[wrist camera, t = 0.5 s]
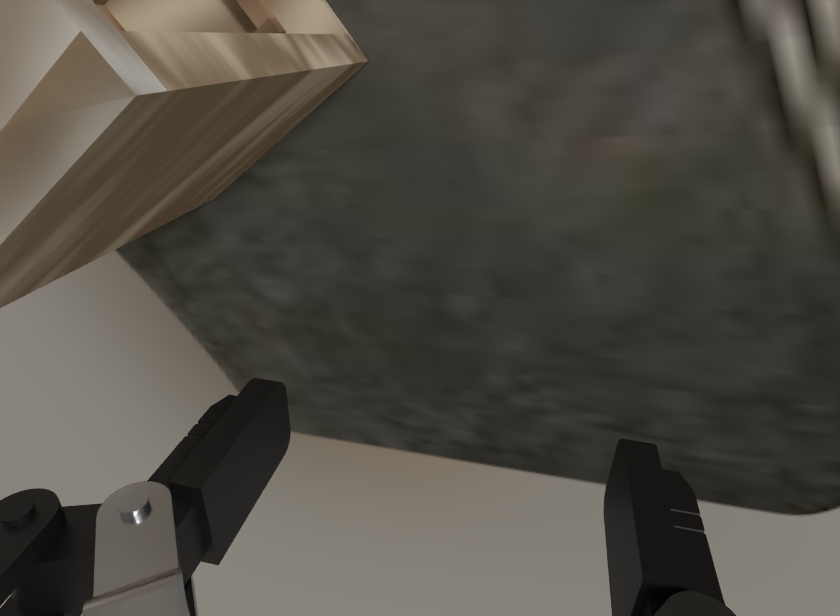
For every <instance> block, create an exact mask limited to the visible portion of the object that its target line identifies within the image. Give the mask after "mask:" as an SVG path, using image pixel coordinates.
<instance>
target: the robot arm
mask: <svg viewBox="0 0 840 616" xmlns="http://www.w3.org/2000/svg"><path fill="white" fill-rule="evenodd" d="M289 440H290V421H289V411H288V402H287V393H286V387H285V385H284V383H282V382H276V381H270V380H264V379H258V378H253V379H251V380H250V381H249V382H248V383H247V385H246V386H245V387H244V388H243V390H242V391H241V392H240V393H239V395H238V396H233V395H228V396H227V397H225V398H223V399H222V400H220V401H219V402H217V403H215V404H214V405H212V406H211V407H210V408H209V409H208V410H207V411H206V413H205V414H204V415H203V416H202V417H201V418H200V420H199V421H198V424H195V425H194V427H193V428H192V429H191V430H190V431H189V433H188V436H186V437H184V438H183V440H182V441H181V442H180V443H179V444H178V445H177V447H176V448H175V449H174V450H173V451H172V453H171V454H170V455H169V456H168V457H167V459H166V460H165V461H164V462H163V463H162V464H161V465H160V467H159V468H158V469H157V470H156V471H155V473H154V474H153V475H152V476H151V477H150V479H149V480H148V481H144V482H138V483H133V484H130V485H127V486H125V487H123V488H121V489H119V490H117V491H116V492H114V493H113V494H111V495H110V496H109V497H108V498H107V499H106V500H105V501H104V502H103V503H102V504H91V505H79V506H66V507H62V506H61V504H60V501H59V499H58V497H57V495H56V494H55V493H54V492H52V491H50V490H46V489H28V490H24V491H20V492H17V493H15V494H12V495H10V496H8V497H6V498H4V499H2V500H0V606H1V605H2V603H3V602H4V601H5V600H6V599H7V598H8V596H9V595H11V596H10V598H9V599H8V600H7V601H6V602H5V604H4V605H3V606H2V607H1V608H0V616H81V614H82V613H83V614H82V616H198V612H197V604H196V596H195V588H194V581H193V577H192V574H193V572H194V571H195V569H196V568H197V566H198V565H199V563H200V561H202V562H206V563H211V564H215V565H219V563H220V562H221V560H222V558H223V557H224V555H225V553H226V552H227V550H228V548H229V547H230V545H231V543H232V542H233V540H234V538H235V537H236V535H237V533H238V532H239V530H240V528H241V527H242V525H243V523H244V522H245V520H246V518H247V517H248V515H249V513H250V512H251V510H252V508H253V507H254V505H255V503H256V502H257V500H258V498H259V497H260V495H261V493H262V492H263V490H264V488H265V487H266V485H267V483H268V482H269V480H270V478H271V477H272V475H273V473H274V472H275V470H276V468H277V467H278V465H279V463H280V462H281V460H282V458H283V457H284V455H285V453H286V451H287V448H288V445H289ZM604 523H605V535H606V547H607V559H608V571H609V583H610V595H611V607H612V616H736V615H735V614H734V613H733V612H732V611H731V610H730V609H729V608H728V607H726V605H725V603H724V600H723V597H722V593H721V589H720V586H719V582H718V578H717V575H716V571H715V567H714V563H713V560H712V556H711V552H710V549H709V545H708V541H707V537H706V535H705V534H704V526H703V523H702V519H701V517H700V511H699V508H698V504H697V500H696V497H695V493H694V491H693V490H692V488H691V487H690V486H689V484H688V483H687V482H686V480H685V479H684V478H683V476H682V475H681V474H680V473H679V472H676V471H670V470H664V469H662V468H661V463H660V458H659V454H658V449H657V446H656V445H655V444H651V443H645V442H639V441H633V440H627V439H620V440H619V442H618V444H617V448H616V452H615V455H614V459H613V463H612V467H611V470H610V474H609V478H608V482H607V485H606V491H605V497H604Z"/></svg>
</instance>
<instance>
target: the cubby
mask: <svg viewBox="0 0 840 616" xmlns="http://www.w3.org/2000/svg"><path fill="white" fill-rule="evenodd" d="M368 62H369V61H368V59H367V58H366V56H365V55H364V54H363V52H362V51H361V49H360V48H359V47H358V45H357V44H356V42H355V41H354V40H353V38H352V37H351V35H350V34H349V33H348V31H347V30H346V29H345V27H344V26H343V24H342V23H341V22H340V20H339V19H338V17H337V16H336V15H335V13H334V12H333V10H332V9H331V8H330V6H329V5H328V3H327V2H326V1H325V0H0V308H1V307H3V306H5V305H7V304H9V303H11V302H13V301H15V300H17V299H19V298H20V297H23V296H25V295H27V294H29V293H31V292H32V291H34V290H36V289H38V288H40V287H42V286H44V285H46V284H48V283H50V282H52V281H54V280H56V279H58V278H60V277H62V276H64V275H66V274H68V273H70V272H72V271H74V270H76V269H78V268H80V267H82V266H84V265H85V264H88V263H89V262H91V261H93V260H95V259H97V258H99V257H101V256H103V255H105V254H107V253H109V252H111V251H113V250H115V249H117V248H119V247H121V246H123V245H125V244H127V243H129V242H131V241H133V240H135V239H137V238H139V237H141V236H143V235H145V234H146V233H148V232H150V231H152V230H154V229H156V228H158V227H160V226H162V225H164V224H166V223H168V222H170V221H172V220H174V219H176V218H178V217H180V216H182V215H184V214H186V213H188V212H190V211H192V210H194V209H196V208H198V207H200V206H202V205H203V204H205V203H207V202H209V201H211V200H213V199H215V198H216V197H217V196H218V195H219V194H220V193H221V192H223V191H224V190H225V189H226V188H227V187H228V186H229V185H230V184H232V183H233V182H234V181H235V180H236V179H237V178H238V177H239V176H241V175H242V174H243V173H244V172H245V171H246V170H247V169H248V168H250V167H251V166H252V165H253V164H254V163H255V162H256V161H257V160H259V159H260V158H261V157H262V156H263V155H264V154H265V153H266V152H268V151H269V150H270V149H271V148H272V147H273V146H274V145H275V144H277V143H278V142H279V141H280V140H281V139H282V138H283V137H284V136H286V135H287V134H288V133H289V132H290V131H291V130H292V129H293V128H295V127H296V126H297V125H298V124H299V123H300V122H301V121H302V120H304V119H305V118H306V117H307V116H308V115H309V114H310V113H311V112H313V111H314V110H315V109H316V108H317V107H318V106H319V105H320V104H322V103H323V102H324V101H325V100H326V99H327V98H328V97H329V96H330V95H332V94H333V93H334V92H335V91H336V90H337V89H338V88H339V87H341V86H342V85H343V84H344V83H345V82H346V81H347V80H348V79H350V78H351V77H352V76H353V75H354V74H355V73H356V72H357V71H359V70H360V69H361V68H362V67H363V66H364V65H365V64H366V63H368Z"/></svg>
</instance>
